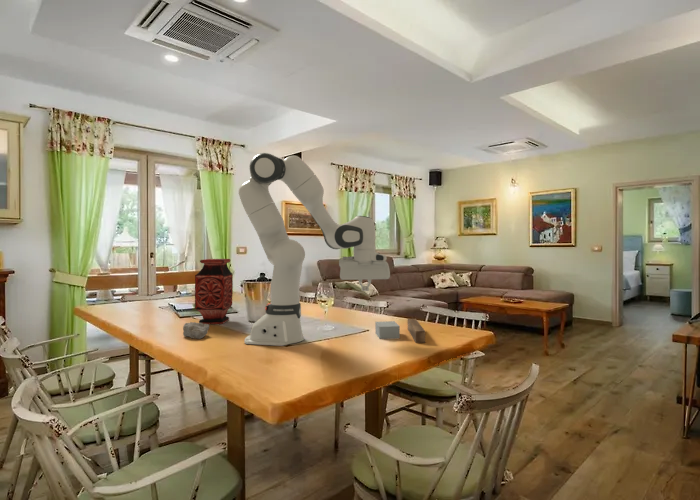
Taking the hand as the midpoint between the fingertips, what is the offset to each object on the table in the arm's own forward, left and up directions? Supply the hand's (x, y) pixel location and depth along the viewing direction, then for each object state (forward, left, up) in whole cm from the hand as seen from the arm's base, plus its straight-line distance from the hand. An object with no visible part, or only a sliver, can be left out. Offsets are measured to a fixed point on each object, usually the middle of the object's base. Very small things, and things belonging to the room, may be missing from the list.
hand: (365, 290), depth 162 cm
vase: (-71, +28, -18) cm, 79 cm away
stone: (-68, -2, -19) cm, 71 cm away
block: (+9, 0, -19) cm, 21 cm away
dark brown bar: (+20, 0, -18) cm, 27 cm away
